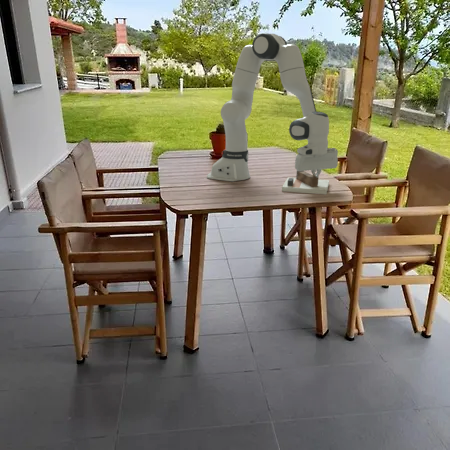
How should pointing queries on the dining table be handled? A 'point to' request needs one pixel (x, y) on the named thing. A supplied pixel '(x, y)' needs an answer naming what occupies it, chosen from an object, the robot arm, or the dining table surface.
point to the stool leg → (307, 178)
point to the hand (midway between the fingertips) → (315, 178)
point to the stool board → (305, 186)
